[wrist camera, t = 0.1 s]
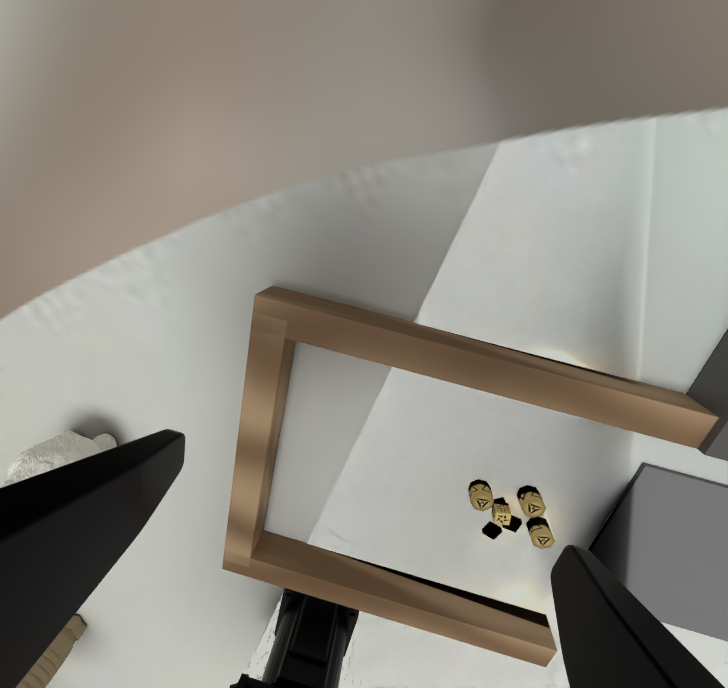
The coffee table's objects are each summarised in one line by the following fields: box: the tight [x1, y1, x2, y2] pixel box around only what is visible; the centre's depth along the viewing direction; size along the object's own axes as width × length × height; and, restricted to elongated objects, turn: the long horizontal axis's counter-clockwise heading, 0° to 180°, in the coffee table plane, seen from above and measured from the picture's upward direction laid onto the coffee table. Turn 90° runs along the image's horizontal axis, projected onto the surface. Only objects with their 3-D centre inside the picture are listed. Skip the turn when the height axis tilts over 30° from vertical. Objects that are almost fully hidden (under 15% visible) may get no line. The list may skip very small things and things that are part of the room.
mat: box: [588, 463, 728, 641], centre depth 25 cm, size 12×12×1 cm
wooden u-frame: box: [222, 286, 719, 667], centre depth 25 cm, size 22×25×2 cm
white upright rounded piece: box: [1, 431, 117, 488], centre depth 24 cm, size 8×7×12 cm
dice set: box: [468, 479, 555, 549], centre depth 25 cm, size 5×5×2 cm
